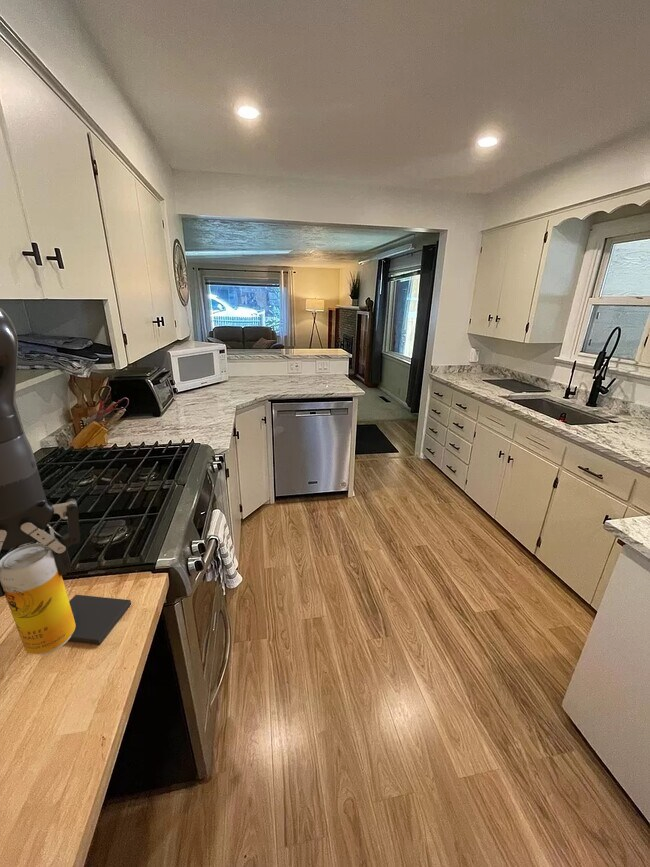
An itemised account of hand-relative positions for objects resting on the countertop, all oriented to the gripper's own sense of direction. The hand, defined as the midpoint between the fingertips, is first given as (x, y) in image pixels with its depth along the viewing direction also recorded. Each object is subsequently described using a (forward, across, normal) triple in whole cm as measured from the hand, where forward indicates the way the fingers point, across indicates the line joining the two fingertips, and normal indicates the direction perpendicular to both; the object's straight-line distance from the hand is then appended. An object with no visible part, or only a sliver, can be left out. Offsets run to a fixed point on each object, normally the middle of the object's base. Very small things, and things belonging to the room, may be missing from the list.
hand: (33, 581), depth 49 cm
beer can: (+11, 0, 0) cm, 11 cm away
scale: (+27, -4, -20) cm, 34 cm away
